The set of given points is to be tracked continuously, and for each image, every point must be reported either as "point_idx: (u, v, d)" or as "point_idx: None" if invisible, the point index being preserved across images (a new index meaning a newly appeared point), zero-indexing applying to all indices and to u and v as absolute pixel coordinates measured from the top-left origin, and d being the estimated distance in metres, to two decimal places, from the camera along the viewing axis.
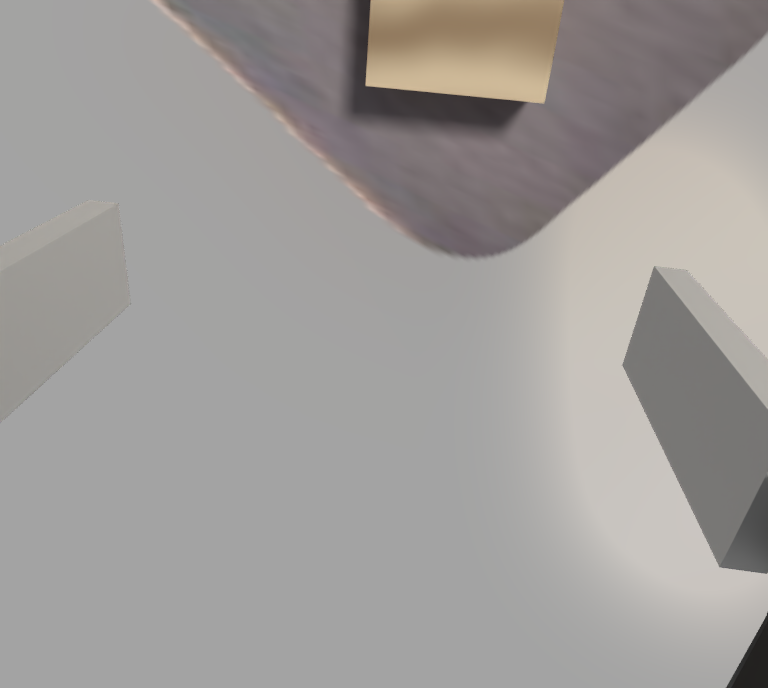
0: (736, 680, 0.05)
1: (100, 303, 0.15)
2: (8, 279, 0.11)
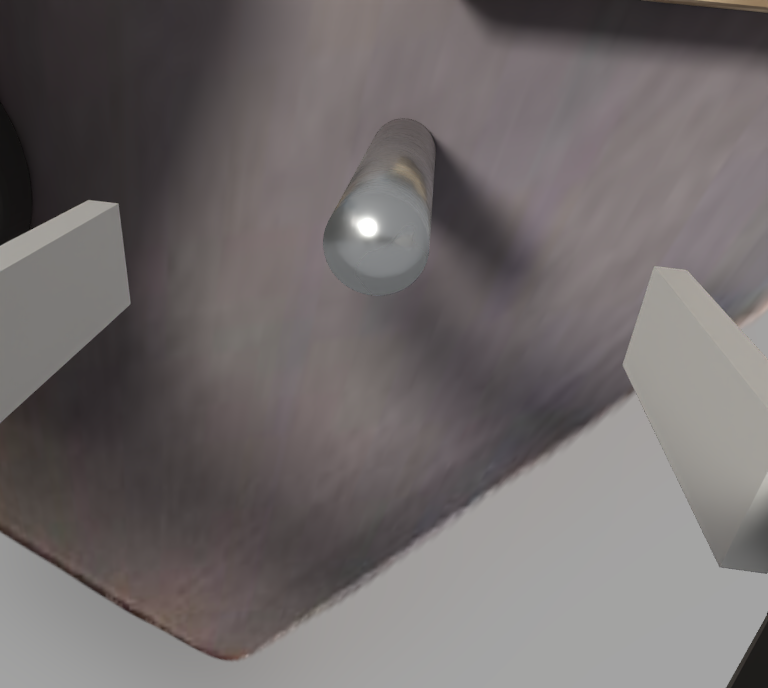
0: (735, 679, 0.05)
1: (100, 303, 0.15)
2: (8, 279, 0.11)
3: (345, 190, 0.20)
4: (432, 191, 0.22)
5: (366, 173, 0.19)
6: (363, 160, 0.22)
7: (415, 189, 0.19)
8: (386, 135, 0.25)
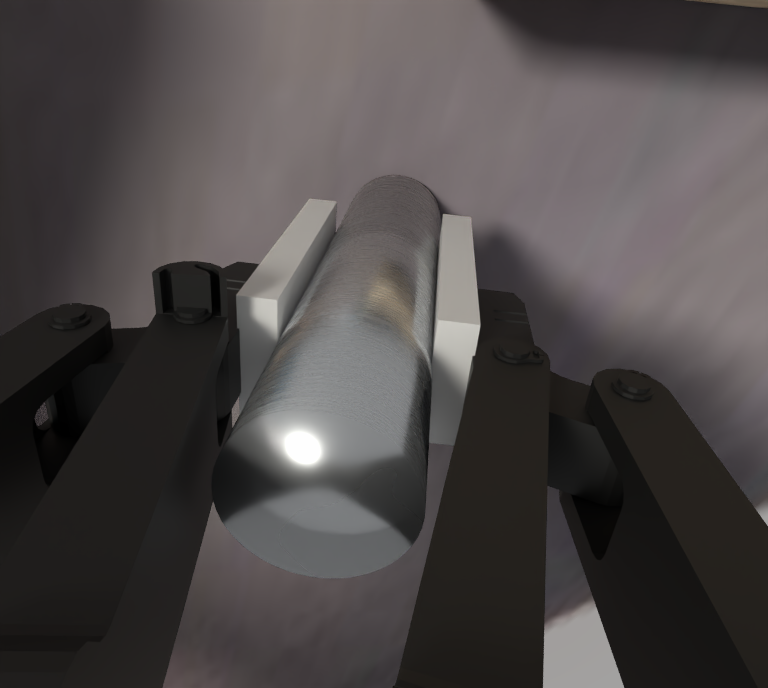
0: (427, 557, 0.06)
1: None
2: (302, 267, 0.13)
3: (275, 347, 0.11)
4: None
5: (312, 321, 0.10)
6: (321, 266, 0.14)
7: (401, 362, 0.10)
8: (364, 212, 0.16)
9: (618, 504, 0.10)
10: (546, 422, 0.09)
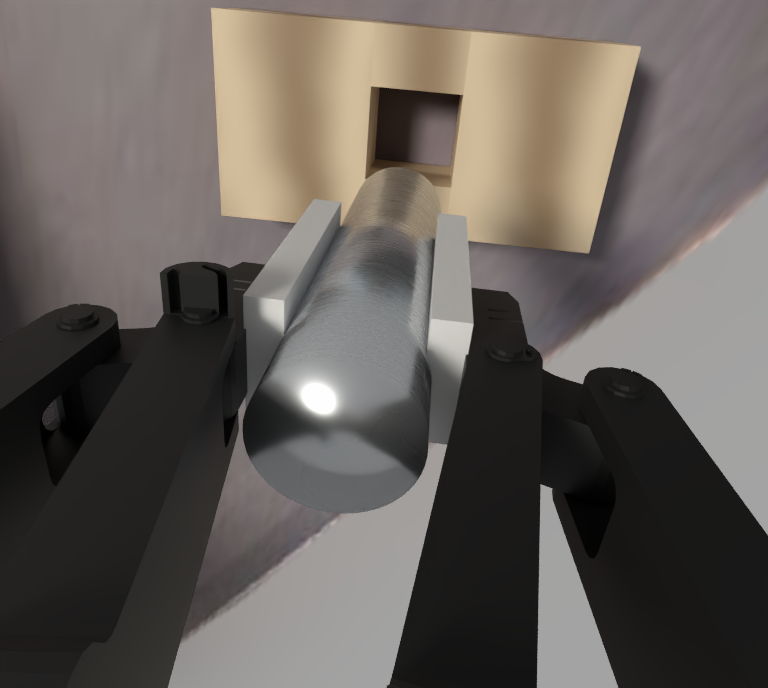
0: (421, 556, 0.06)
1: None
2: (308, 267, 0.13)
3: (294, 315, 0.12)
4: None
5: (327, 291, 0.12)
6: (332, 247, 0.15)
7: (406, 326, 0.11)
8: (370, 200, 0.17)
9: (610, 502, 0.10)
10: (539, 420, 0.09)
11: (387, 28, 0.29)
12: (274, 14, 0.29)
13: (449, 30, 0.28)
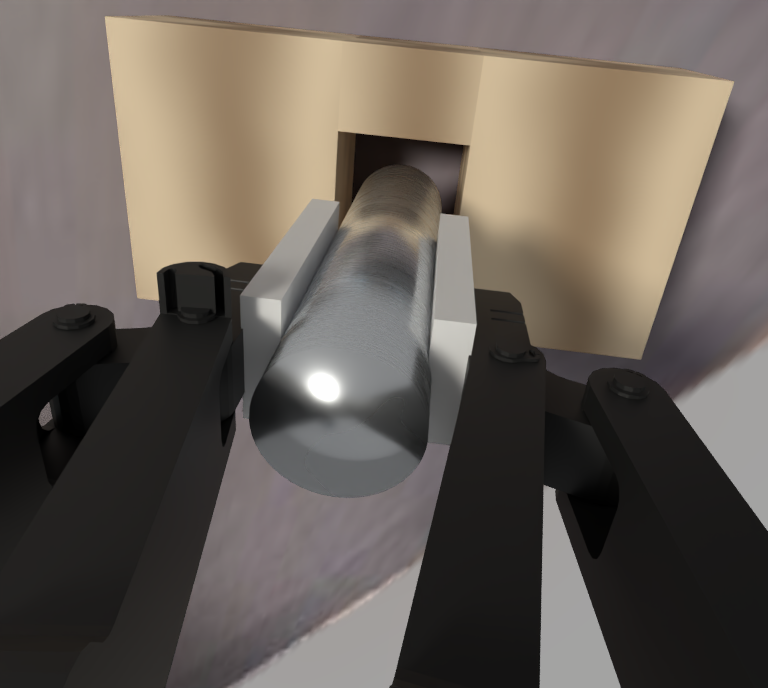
0: None
1: None
2: (306, 267, 0.13)
3: (298, 307, 0.12)
4: None
5: (331, 283, 0.12)
6: (335, 242, 0.15)
7: (408, 316, 0.11)
8: (372, 196, 0.18)
9: (614, 503, 0.10)
10: (542, 421, 0.09)
11: (360, 50, 0.20)
12: (196, 27, 0.20)
13: (451, 53, 0.19)
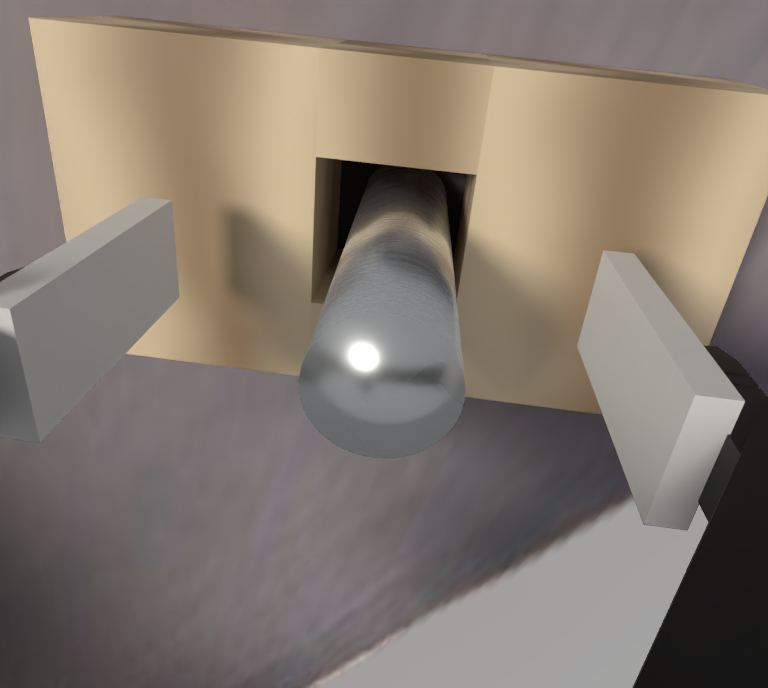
0: (657, 636, 0.06)
1: (155, 295, 0.15)
2: (83, 271, 0.12)
3: (332, 285, 0.13)
4: None
5: (364, 262, 0.13)
6: (357, 228, 0.16)
7: (438, 291, 0.12)
8: (386, 186, 0.18)
9: None
10: None
11: (342, 59, 0.16)
12: (141, 30, 0.16)
13: (454, 63, 0.16)
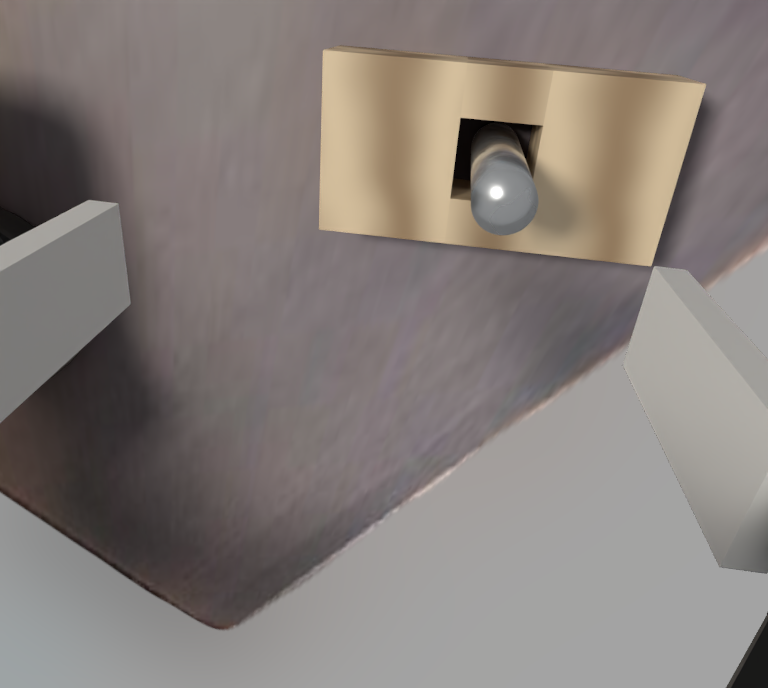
0: (736, 680, 0.05)
1: (100, 303, 0.15)
2: (8, 279, 0.11)
3: (477, 169, 0.30)
4: None
5: (492, 158, 0.30)
6: (480, 151, 0.33)
7: (526, 168, 0.29)
8: (490, 134, 0.35)
9: None
10: None
11: (478, 68, 0.32)
12: (378, 55, 0.33)
13: (533, 69, 0.32)
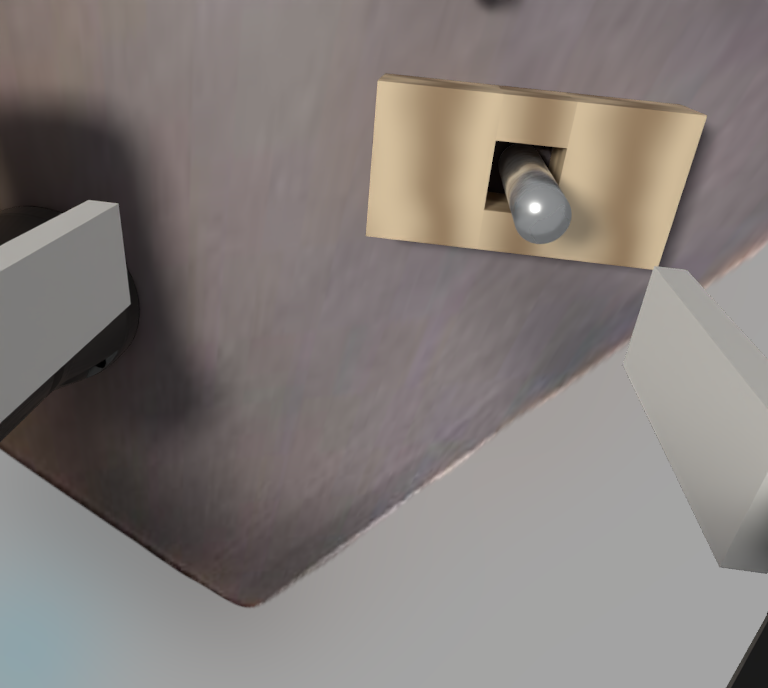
0: (736, 680, 0.05)
1: (100, 303, 0.15)
2: (8, 279, 0.11)
3: (516, 187, 0.35)
4: None
5: (529, 178, 0.35)
6: (514, 170, 0.38)
7: (558, 187, 0.34)
8: (520, 154, 0.40)
9: None
10: None
11: (512, 98, 0.38)
12: (426, 86, 0.38)
13: (560, 100, 0.37)
